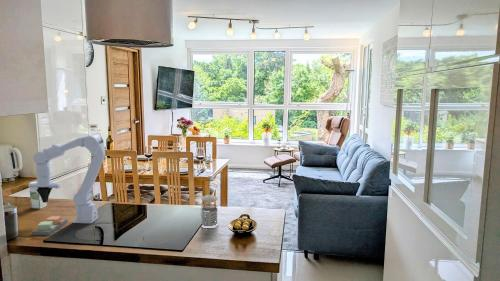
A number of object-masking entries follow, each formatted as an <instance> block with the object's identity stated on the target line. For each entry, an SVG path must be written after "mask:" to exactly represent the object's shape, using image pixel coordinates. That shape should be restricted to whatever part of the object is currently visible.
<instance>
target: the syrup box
mask: <svg viewBox="0 0 500 281" xmlns="http://www.w3.org/2000/svg"><path fill="white" fill-rule="evenodd" d="M30 183H37V180H33V181H30V182H29V183H28V184H30ZM37 189H38V188H29V197H30V208H31V209H35V210H37V209H39V210H40V209H43V208H45V207H48V202H46V203H43V201H42V199H41V196H40V195H39V193H38V192H37Z"/></svg>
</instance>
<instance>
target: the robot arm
mask: <svg viewBox="0 0 500 281" xmlns="http://www.w3.org/2000/svg"><path fill="white" fill-rule="evenodd" d="M76 147H81V148H85V149H87V150H88V151H89V152H90V153H91V155H92V158H91V161H90V162H89V163H90V164H89V166H88V169H87V171H86V174H85V176H84V179H83V181H82V184H81V186H80V187H79V189H78V190H77V192H76V193H75V194H74V196H73V198H72V200H73V203H74V204H75V216H76V217H75V218H76V219H75V220H73V221H72V223H73V224H93V223H94V222H95V221H96V220H97V219H99V215H98V212H99V211H98V204H97V203H93V202H92V198H93V194H94V192H93V190H94V184H95V182H96V180H97V177H98V174H99V172H100V169H101V166H102V165H103V162H104V159H105V158H106V150H105V140H104V139H103V137H102V136H101V135H100V134H98V133H93V134H91V135H90V134H89V135H86V136H81V137H78V138H76V139H74V140H72V141H69V142H67V143H65V144H63V145H62V144H60V143H59V144H56V143H54V144H52V145H51V147H47V148H45V147H44V148H43V149H42V150H40V151H37V152H36V153H34V155H33V157H32V159H33V162H34V163H35V169H36V181H37V183H31V182H29V183H30V184H29V183H28V184H27V185H28V189H30V188H38V189H37V192H38V193H39V195H40V196H41V199H42V201H43V203H46V202H47V203H48V202H49V198H50V193H51V192H52V190H53V189H60V188H61V183H55V182H52V181H51V180H52V179H51V178H52V177H51V165H50V161H52V160H54V159H56V158H59V157H61V156H64V155H65V153H66V152H67V151H68V150H72V149H75V148H76Z"/></svg>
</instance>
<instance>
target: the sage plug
mask: <svg viewBox="0 0 500 281" xmlns="http://www.w3.org/2000/svg"><path fill="white" fill-rule="evenodd" d="M52 226H53V221H46V220H45V221H40V222H39V223H38V224H37V231H49V230H50V227H52Z"/></svg>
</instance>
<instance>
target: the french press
mask: <svg viewBox="0 0 500 281" xmlns="http://www.w3.org/2000/svg"><path fill="white" fill-rule="evenodd" d="M207 179H209V183H208V184H209V188H208V189H209V194H206V195H204V196H202V197H201V201H203V202H202V204H201V206H200V207H201V208H200V209H201V214H200V216H201V223H202V225H204V226H213V225H216V224H217V223H218V206H217V205H216V204H213V203H211V202H215V201H218V199H219V197H217V195H212V194H211V193H210V192H211V180H212V176H211V175H209V176H207ZM204 202H208V203H204ZM215 221H216V222H215Z"/></svg>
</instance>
